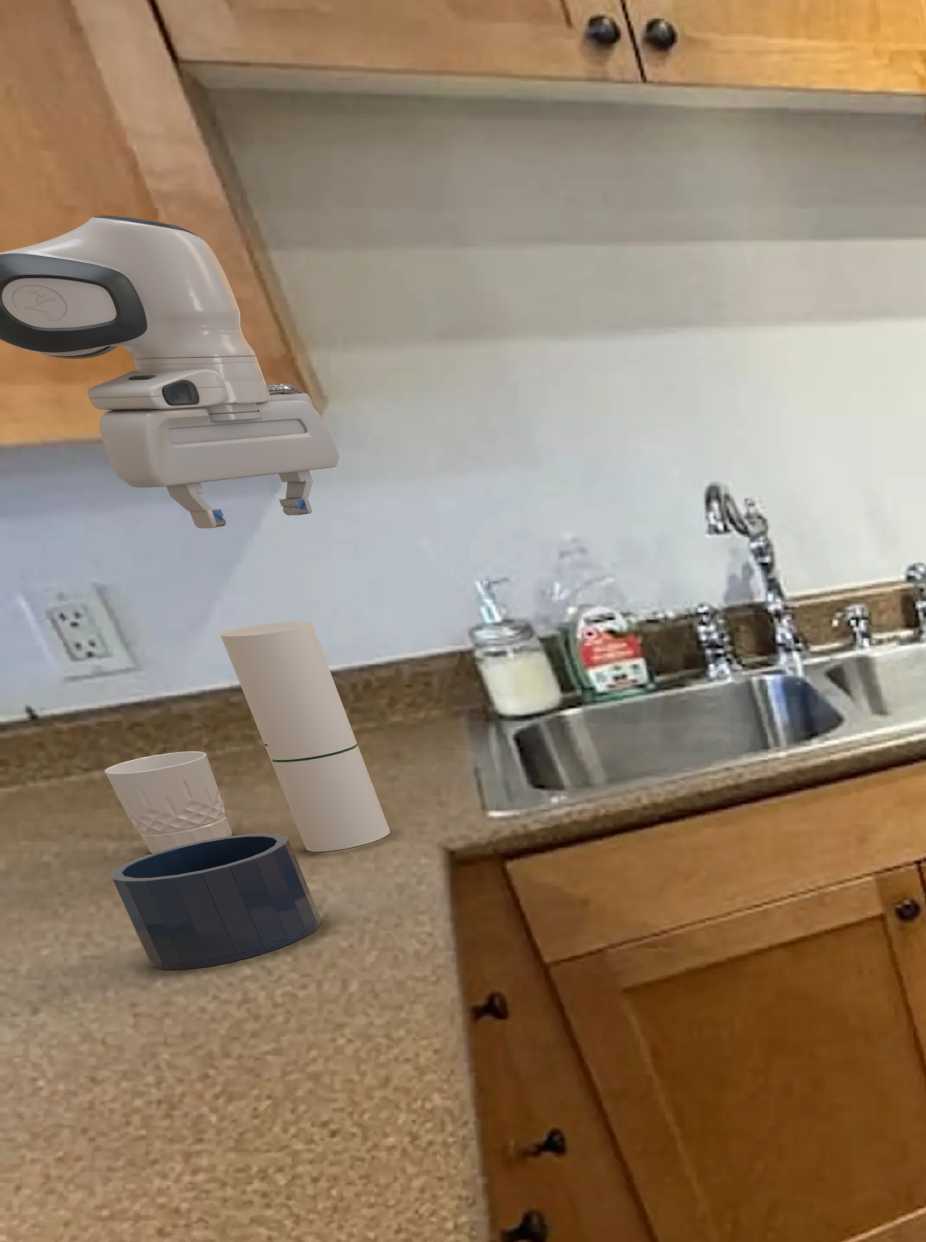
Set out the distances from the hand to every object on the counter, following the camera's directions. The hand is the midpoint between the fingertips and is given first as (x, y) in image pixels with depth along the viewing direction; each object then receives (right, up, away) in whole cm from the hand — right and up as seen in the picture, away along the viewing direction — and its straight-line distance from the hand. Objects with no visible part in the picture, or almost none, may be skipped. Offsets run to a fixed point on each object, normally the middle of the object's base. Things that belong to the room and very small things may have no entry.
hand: (256, 521), depth 141 cm
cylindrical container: (-1, -35, +11) cm, 37 cm away
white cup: (-19, -35, +11) cm, 42 cm away
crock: (+13, -44, -14) cm, 48 cm away
